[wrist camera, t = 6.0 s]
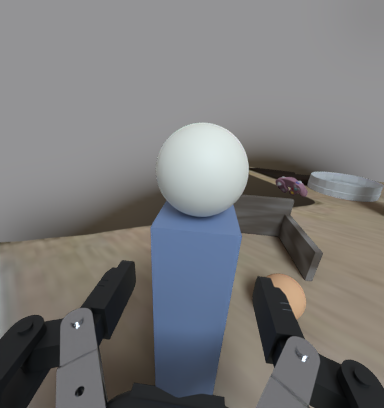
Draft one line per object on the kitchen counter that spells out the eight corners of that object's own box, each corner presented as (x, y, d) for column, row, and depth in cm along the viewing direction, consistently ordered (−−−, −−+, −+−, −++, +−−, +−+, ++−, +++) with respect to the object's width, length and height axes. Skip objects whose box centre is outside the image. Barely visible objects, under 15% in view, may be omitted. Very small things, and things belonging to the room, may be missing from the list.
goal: (312, 281, 28) (330, 234, 25) (216, 270, 29) (223, 224, 26) (282, 234, 40) (292, 198, 37) (215, 227, 41) (219, 192, 38)
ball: (248, 315, 22) (256, 282, 21) (261, 288, 26) (269, 259, 24) (295, 342, 20) (309, 308, 18) (301, 308, 24) (314, 277, 22)
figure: (210, 421, 14) (269, 126, 6) (152, 412, 15) (140, 118, 7) (211, 356, 18) (247, 125, 10) (165, 349, 19) (167, 120, 11)
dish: (371, 190, 76) (377, 178, 74) (385, 208, 59) (392, 193, 57) (308, 180, 87) (312, 169, 85) (304, 191, 70) (308, 178, 68)
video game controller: (274, 193, 70) (272, 177, 66) (282, 186, 71) (281, 171, 67) (300, 203, 63) (300, 185, 59) (309, 195, 64) (309, 178, 60)
